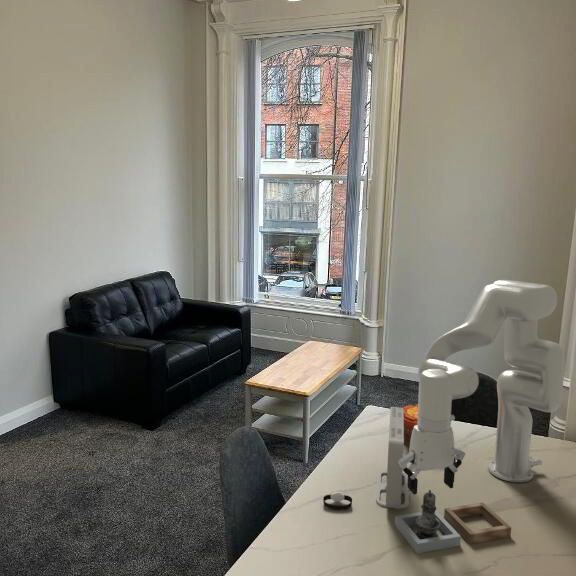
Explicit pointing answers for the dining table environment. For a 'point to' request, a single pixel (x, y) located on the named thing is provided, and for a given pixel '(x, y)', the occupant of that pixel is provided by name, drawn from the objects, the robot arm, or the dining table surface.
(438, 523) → the marbled chess piece
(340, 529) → the dining table surface
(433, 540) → the slate-grey collar
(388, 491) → the network device
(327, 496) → the watch
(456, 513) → the walnut collar
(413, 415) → the food container
